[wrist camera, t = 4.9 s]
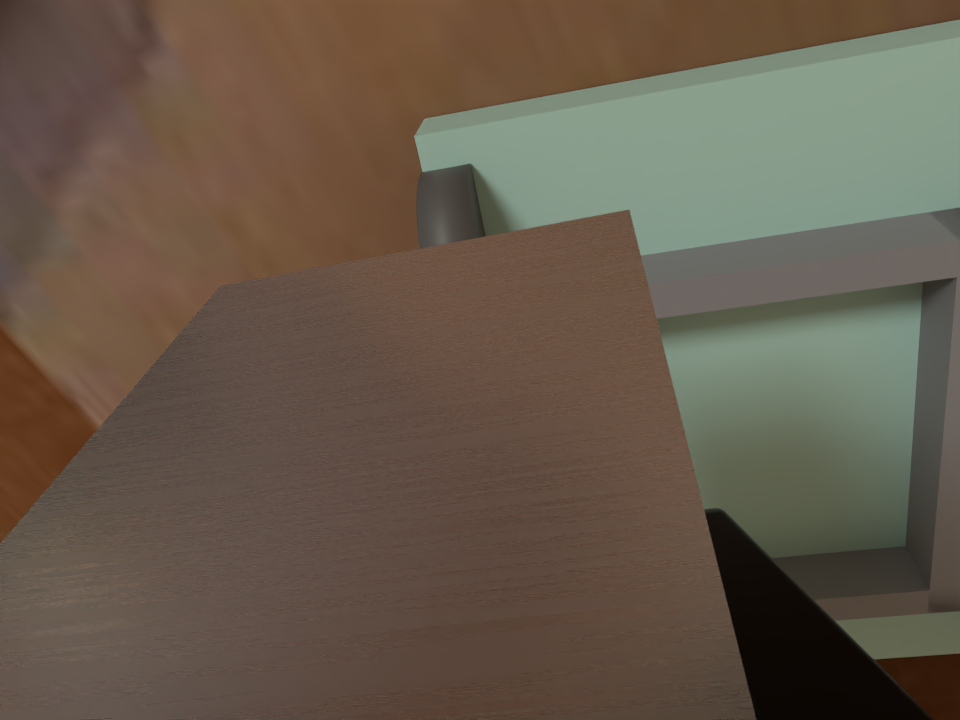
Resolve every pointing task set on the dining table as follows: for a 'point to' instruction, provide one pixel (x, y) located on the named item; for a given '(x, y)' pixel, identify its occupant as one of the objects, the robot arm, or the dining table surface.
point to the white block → (387, 507)
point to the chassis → (777, 292)
